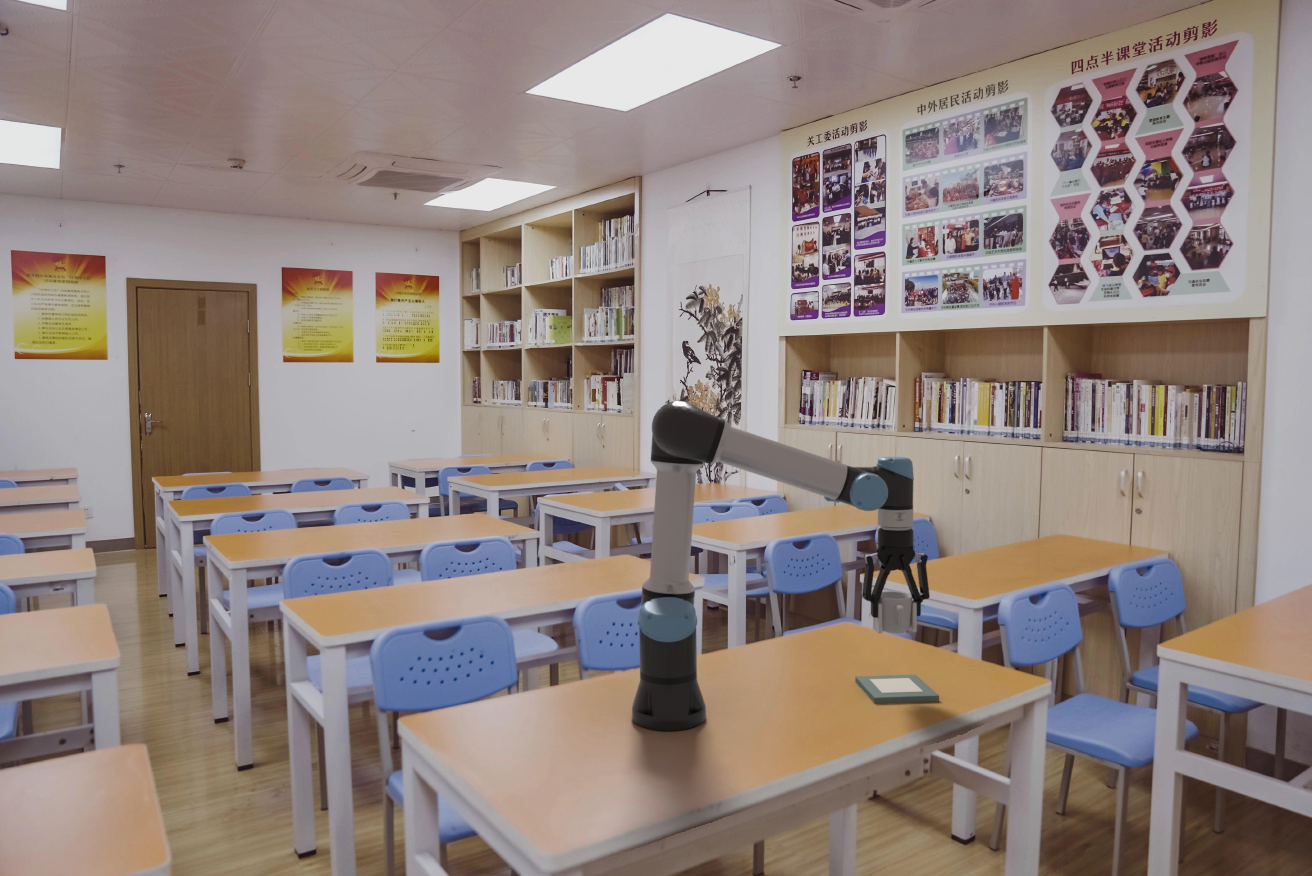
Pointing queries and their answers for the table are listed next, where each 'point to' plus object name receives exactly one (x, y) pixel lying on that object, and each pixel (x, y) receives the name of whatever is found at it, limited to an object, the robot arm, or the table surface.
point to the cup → (895, 611)
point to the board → (896, 688)
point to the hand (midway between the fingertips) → (895, 630)
